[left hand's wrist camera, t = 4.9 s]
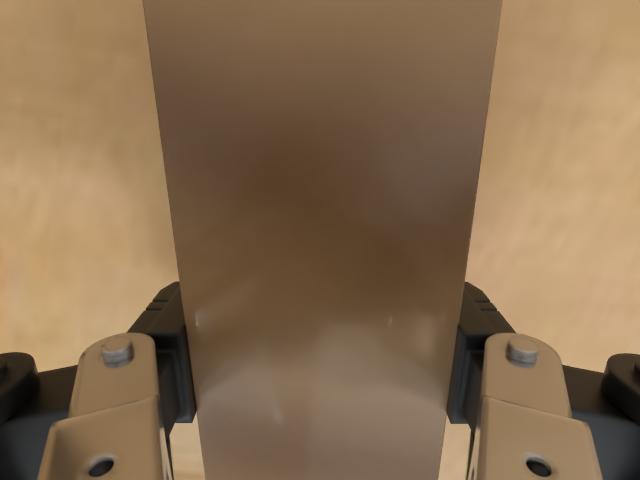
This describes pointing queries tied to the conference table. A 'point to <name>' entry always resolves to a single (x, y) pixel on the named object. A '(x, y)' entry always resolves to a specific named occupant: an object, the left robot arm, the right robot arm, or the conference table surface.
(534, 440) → the left robot arm
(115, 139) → the conference table surface
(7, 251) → the conference table surface
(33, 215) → the conference table surface
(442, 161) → the cabinet
